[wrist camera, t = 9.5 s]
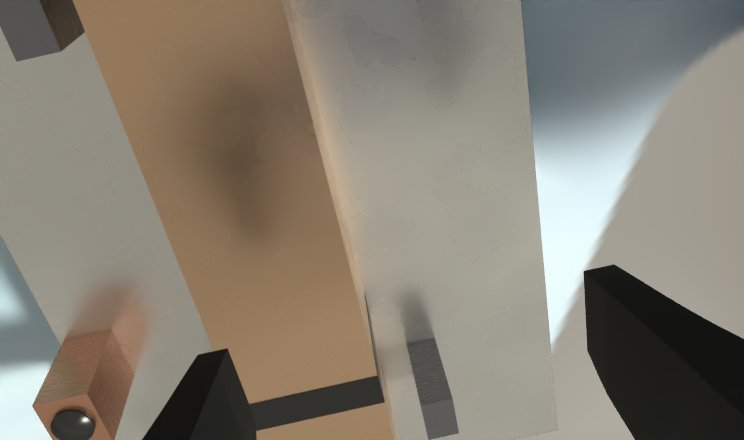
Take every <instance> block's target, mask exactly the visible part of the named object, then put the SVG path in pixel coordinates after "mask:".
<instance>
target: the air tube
mask: <svg viewBox="0 0 744 440" xmlns="http://www.w3.org/2000/svg"><path fill="white" fill-rule="evenodd" d="M73 3H74V5H75V8H76V10H77V13H78V15H79V18H80V20H81V23H82V25H83V28H84V30H85V33H86V35H87V38H88V40H89V43H90V45H91V48H92V50H93V53H94V55H95V57H96V60H97V62H98V65H99V67H100V70H101V72H102V75H103V77H104V80H105V82H106V85H107V87H108V90H109V92H110V95H111V97H112V100H113V102H114V105H115V107H116V110H117V112H118V115H119V117H120V120H121V122H122V125H123V127H124V130H125V132H126V135H127V137H128V139H129V142H130V144H131V147H132V149H133V152H134V154H135V157H136V159H137V162H138V164H139V167H140V169H141V172H142V174H143V177H144V179H145V182H146V184H147V187H148V189H149V192H150V194H151V197H152V199H153V202H154V204H155V207H156V209H157V212H158V214H159V216H160V219H161V221H162V224H163V226H164V229H165V231H166V234H167V236H168V239H169V241H170V244H171V246H172V249H173V251H174V254H175V256H176V259H177V261H178V264H179V266H180V269H181V271H182V274H183V276H184V279H185V281H186V284H187V286H188V289H189V291H190V294H191V296H192V298H193V301H194V303H195V306H196V308H197V311H198V313H199V316H200V318H201V321H202V323H203V326H204V328H205V331H206V333H207V336H208V338H209V341H210V343H211V346H212V348H213V351H217V350H222V349H226V348H228V351H229V353H230V356H231V358H232V361H233V364H234V366H235V369H236V371H237V374H238V376H239V379H240V382H241V384H242V387H243V389H244V392H245V395H246V397H247V400H248V402H249V405H250V408H251V410H252V413H253V415H254V418H255V420H256V437H257V440H399V438H398V432H397V427H396V421H395V416H394V411H393V407H392V403H391V399H390V395H389V391H388V387H387V383H386V379H385V375H384V371H383V367H382V363H381V359H380V355H379V351H378V347H377V343H376V339H375V335H374V331H373V327H372V321H371V316H370V312H369V308H368V304H367V300H366V296H365V294H364V290H363V286H362V282H361V278H360V274H359V270H358V266H357V262H356V258H355V254H354V250H353V246H352V242H351V238H350V234H349V230H348V226H347V222H346V218H345V214H344V210H343V206H342V202H341V198H340V194H339V190H338V186H337V182H336V178H335V174H334V169H333V165H332V161H331V157H330V153H329V149H328V145H327V141H326V137H325V133H324V129H323V125H322V121H321V117H320V113H319V109H318V105H317V101H316V97H315V93H314V89H313V85H312V81H311V77H310V73H309V69H308V65H307V61H306V57H305V53H304V49H303V45H302V41H301V37H300V33H299V28H298V24H297V20H296V16H295V12H294V8H293V4H292V0H73Z"/></svg>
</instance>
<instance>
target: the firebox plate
mask: <svg viewBox="0 0 744 440" xmlns="http://www.w3.org/2000/svg"><path fill="white" fill-rule="evenodd" d="M292 4H293V8H294V12H295V16H296V20H297V24H298V28H299V33H300V37H301V41H302V45H303V49H304V53H305V57H306V61H307V65H308V69H309V73H310V77H311V81H312V85H313V89H314V93H315V97H316V101H317V105H318V109H319V113H320V117H321V121H322V125H323V129H324V133H325V137H326V141H327V145H328V149H329V153H330V157H331V161H332V165H333V169H334V174H335V178H336V182H337V186H338V190H339V194H340V198H341V202H342V206H343V210H344V214H345V218H346V222H347V226H348V230H349V234H350V238H351V242H352V246H353V250H354V254H355V258H356V262H357V266H358V270H359V274H360V278H361V282H362V286H363V290H364V294H365V296H366V300H367V304H368V308H369V312H370V316H371V321H372V327H373V331H374V335H375V339H376V343H377V347H378V351H379V355H380V359H381V363H382V367H383V371H384V375H385V379H386V383H387V387H388V391H389V395H390V399H391V403H392V407H393V411H394V416H395V421H396V427H397V432H398V438H399V440H515V439H520V438H524V437H529V436H533V435H538V434H542V433H547V432H551V431H556V430H558V426H557V415H556V403H555V391H554V379H553V368H552V356H551V344H550V333H549V321H548V310H547V298H546V286H545V275H544V263H543V252H542V240H541V229H540V217H539V205H538V194H537V182H536V171H535V159H534V147H533V136H532V124H531V113H530V101H529V89H528V78H527V66H526V55H525V43H524V31H523V20H522V8H521V0H292ZM0 236H1V237H2V239H3V241H4V243H5V245H6V247H7V249H8V250H9V252H10V254H11V256H12V258H13V260H14V261H15V263H16V265H17V267H18V269H19V271H20V272H21V274H22V276H23V278H24V280H25V282H26V283H27V285H28V287H29V289H30V291H31V293H32V294H33V296H34V298H35V300H36V302H37V304H38V305H39V307H40V309H41V311H42V313H43V315H44V316H45V318H46V320H47V322H48V324H49V326H50V327H51V329H52V331H53V333H54V335H55V337H56V339H57V340H58V342H59V344H60V346H61V347H60V349H59V351H58V353H57V355H56V357H55V360H54V362H53V364H52V366H51V368H50V370H49V372H48V374H47V376H46V378H45V380H44V382H43V384H42V387H41V389H40V391H39V393H38V395H37V397H36V399H35V401H34V403H33V405H32V406H33V408H34V410H35V411H36V413H37V415H38V416H39V418H40V420H41V421H42V423H43V425H44V426H45V428H46V430H47V431H48V433H49V435H50V436H51V438H52V439H53V440H142V439H143V437H144V436H145V434H146V433H147V431H148V430H149V428H150V427H151V425H152V424H153V422H154V421H155V419H156V418H157V417H158V415H159V414H160V412H161V411H162V409H163V408H164V406H165V404H166V403H167V401H168V400H169V398H170V397H171V395H172V394H173V392H174V390H175V389H176V387H177V386H178V384H179V383H180V381H181V379H182V378H183V376H184V375H185V373H186V372H187V370H188V369H189V367H190V366H191V364H192V363H193V361H194V360H195V358H196V357H197V355H199V354H203V353H208V352H212V351H213V348H212V346H211V343H210V341H209V338H208V336H207V333H206V331H205V328H204V326H203V323H202V321H201V318H200V316H199V313H198V311H197V308H196V306H195V303H194V301H193V298H192V296H191V294H190V291H189V289H188V286H187V284H186V281H185V279H184V276H183V274H182V271H181V269H180V266H179V264H178V261H177V259H176V256H175V254H174V251H173V249H172V246H171V244H170V241H169V239H168V236H167V234H166V231H165V229H164V226H163V224H162V221H161V219H160V216H159V214H158V212H157V209H156V207H155V204H154V202H153V199H152V197H151V194H150V192H149V189H148V187H147V184H146V182H145V179H144V177H143V174H142V172H141V169H140V167H139V164H138V162H137V159H136V157H135V154H134V152H133V149H132V147H131V144H130V142H129V139H128V137H127V135H126V132H125V130H124V127H123V125H122V122H121V120H120V117H119V115H118V112H117V110H116V107H115V105H114V102H113V100H112V97H111V95H110V92H109V90H108V87H107V85H106V82H105V80H104V77H103V75H102V72H101V70H100V67H99V65H98V62H97V60H96V57H95V55H94V53H93V50H92V48H91V45H90V43H89V40H88V38H87V35H86V33H85V30H84V28H83V25H82V23H81V20H80V18H79V15H78V13H77V10H76V8H75V5H74V3H73V0H0Z"/></svg>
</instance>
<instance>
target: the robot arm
mask: <svg viewBox="0 0 744 440" xmlns="http://www.w3.org/2000/svg"><path fill="white" fill-rule="evenodd" d="M584 287H585V308H586V329H587V349H588V353H589V355H590V357H591V359H592V361H593V364H594V366H595V369H596V370H597V373H598V375H599V378H600V379H601V382H602V384H603V386H604V388H605V390H606V392H607V395H608V396H609V398H610V399H611V401H612V403H613V405H614V406H615V408H616V409H617V411H618V412H619V414H620V416H621V418H622V419H623V421H624V422H625V424H626V426H627V427H628V429H629V430H630V432H631V433H632V435H633V437H634V439H635V440H744V339H742V338H740V337H739V336H737V335H735V334H733V333H731V332H729V331H727V330H725V329H723V328H721V327H719V326H717V325H715V324H713V323H712V322H710V321H708V320H706V319H704V318H702V317H701V316H699V315H697V314H695V313H693V312H691V311H690V310H688V309H686V308H685V307H683V306H681V305H680V304H678V303H676V302H674V301H673V300H671V299H670V298H668V297H666V296H665V295H663V294H661V293H660V292H658V291H656V290H655V289H653V288H652V287H650V286H648V285H647V284H645V283H644V282H642V281H640V280H639V279H637V278H635V277H634V276H632V275H630V274H629V273H627V272H626V271H624V270H623V269H621V268H619V267H617V266H616V265H610V266H605V267H601V268H596V269H591V270H587V271H584ZM142 440H257V437H256V420H255V418H254V415H253V413H252V410H251V408H250V405H249V402H248V400H247V397H246V395H245V392H244V389H243V387H242V384H241V382H240V379H239V376H238V374H237V371H236V369H235V366H234V364H233V361H232V358H231V356H230V353H229V351H228V348H226V349H222V350H217V351H212V352H208V353H203V354H199V355H197V357H196V358H195V360H194V361H193V363H192V364H191V366H190V367H189V369H188V370H187V372H186V373H185V375H184V376H183V378H182V379H181V381H180V383H179V384H178V386H177V387H176V389H175V390H174V392H173V394H172V395H171V397H170V398H169V400H168V401H167V403H166V404H165V406H164V408H163V409H162V411H161V412H160V414H159V415H158V417H157V418H156V419H155V421H154V422H153V424H152V425H151V427H150V428H149V430H148V431H147V433H146V434H145V436H144V437H143V439H142Z"/></svg>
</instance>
